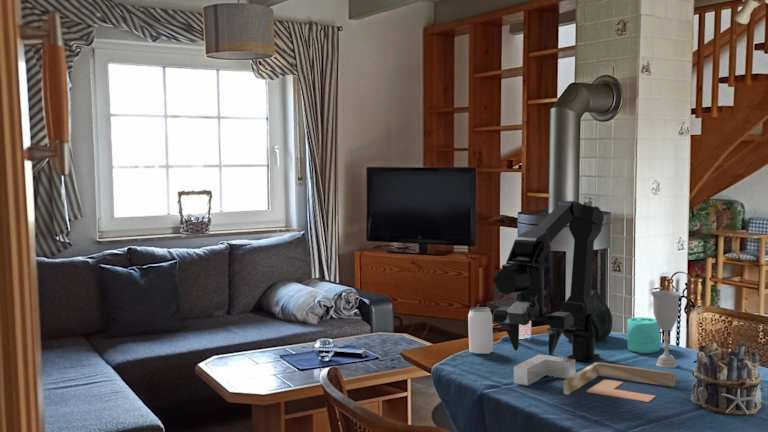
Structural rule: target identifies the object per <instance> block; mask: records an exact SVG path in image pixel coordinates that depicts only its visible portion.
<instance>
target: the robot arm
mask: <svg viewBox="0 0 768 432" xmlns="http://www.w3.org/2000/svg"><path fill="white" fill-rule="evenodd" d="M604 219H605V217H604V212H603V211H602V210H601V209H600V207H599V206H591V205H587V204H583V203H581V202H579V201H576V200H561V201H559V202H558V203H557V204H556V206H555V208H554V209H553V210H552V211H551V212H550V213H549V214H548V215H547V216H546V217H544V219H543V220H542V221H541V222H540V223H538V225H537V226H536V227H534V228H531V229H530V230H526V231H524V232H523V233H521V234H520V235H518V236H517V237H515V240H514V242H513V244H512V247H511V249H510V253H509V255H508V257H507V259H506V263H505V264H502V265H501V270H499V272H497V274H496V276H495V279H494V282H495V286H496V289H497V291H498V292H499V293H501V294H503V295H511V294H515V293H516V296H515V297H516V299H515V302H514V303H512V304H511V306H507V305H506V306H500V307H498V308H496V309H494V311H493V313H492V322H497V325H498V326H500V327H501V326H502V328H503V329H504V330H505V332H506V333H507V335H508V338H509V340H510V343H511V345H512V347H513V350H514V351H515V352H517V351H518V350H519V345H520V342H519V341H520V340H519V324H521V325H527V324H528V323H529V321H531V322H539V323H540V322H541V323H547V326H549V327H548V328H546V331H547V334H548V354H549V356H554V352H555V349H556V347H557V344H558V342H559V339H560V337H561V336H562V334H563V333H562V332H563V330H564V334H571V335H572V340H571V354H570V355H567V357H566V358H570V359H575V361H581V362H589V363H590V362H593V361H595V360H597V359H598V358H599V357H601V356H600V353H599V354H597V353H596V351H595V349H596V348H595V339H594V338H595V337H600V336H601V335H602V332H603V326H602V325H601V323H600V322H599V320H598V319H597V318H596V308H595V306H594V304H593V302H592V300H591V298H590V290H592V289H591V287H592V274H593V260H594V249H595V248H594V246H595V241H596V239H597V237H599V235H600V233H601V232H602V229H603V228H602V227H603V222H604ZM567 225H568V230H569V232H570V234H571V236H572V238H573V242H574V243H573V255H572V265H571V266H572V269H571V284H570V294H569V296H568V298H567V300H565V301H562V303H561V309H562V311H561V310H560V311H561V312H560V311H556V312H555V311H554V312H553V313H550V314H547V313H548V308H547V307H545V297H546V296H547V291H546V290H545V285H544V284H545V283H544V282H545V281H544V277H545V276H544V269H546V268H548V267H549V264H548V263H547V262H546V261H545V258H546V256H548V254H549V253H550V251H551V249H552V247H551V246H552V241H553V240H554V239H555V238H557V236H558V235H559V234H561V232H562V230H564V229H565V227H566V226H567Z"/></svg>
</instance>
